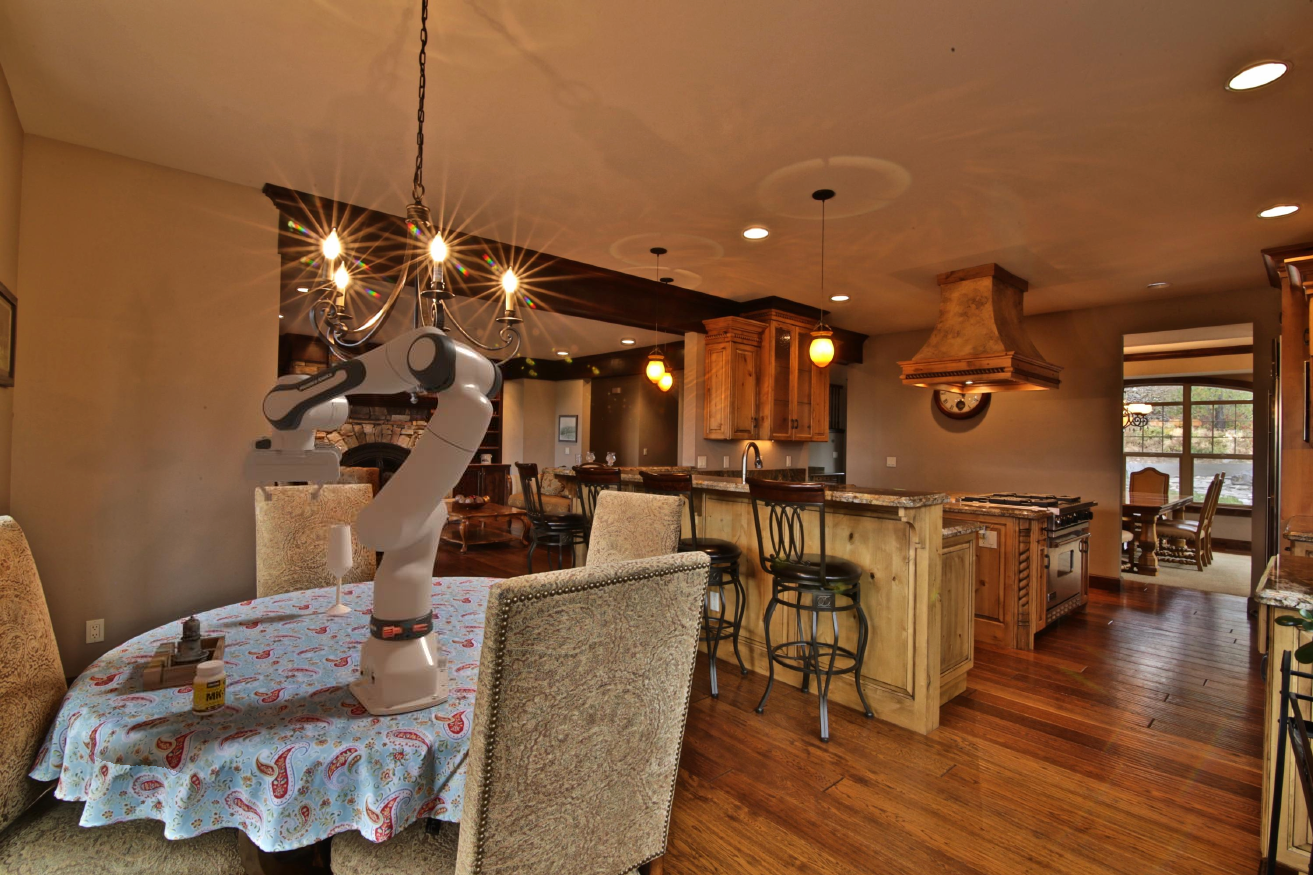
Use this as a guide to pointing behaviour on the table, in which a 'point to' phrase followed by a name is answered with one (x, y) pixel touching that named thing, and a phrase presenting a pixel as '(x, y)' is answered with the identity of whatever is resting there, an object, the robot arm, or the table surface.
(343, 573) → the champagne flute
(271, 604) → the table surface
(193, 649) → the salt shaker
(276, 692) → the table surface
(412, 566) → the robot arm
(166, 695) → the table surface
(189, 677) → the divided sorting tray
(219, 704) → the supplement bottle
